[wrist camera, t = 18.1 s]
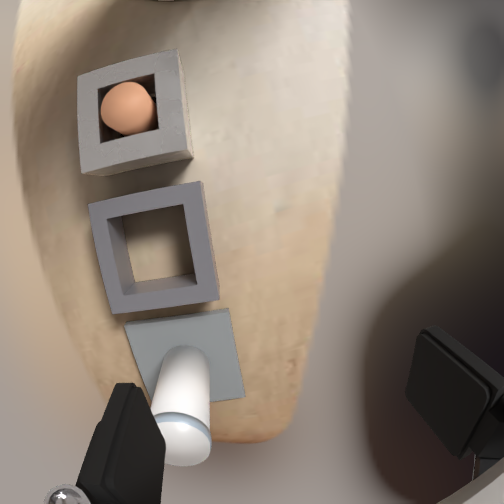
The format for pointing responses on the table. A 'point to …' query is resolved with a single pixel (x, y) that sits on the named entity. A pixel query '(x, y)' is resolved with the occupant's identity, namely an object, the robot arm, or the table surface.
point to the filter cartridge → (184, 405)
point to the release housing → (139, 145)
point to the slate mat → (193, 334)
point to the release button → (129, 109)
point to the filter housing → (118, 262)
